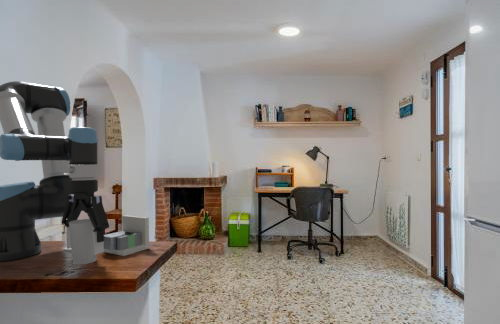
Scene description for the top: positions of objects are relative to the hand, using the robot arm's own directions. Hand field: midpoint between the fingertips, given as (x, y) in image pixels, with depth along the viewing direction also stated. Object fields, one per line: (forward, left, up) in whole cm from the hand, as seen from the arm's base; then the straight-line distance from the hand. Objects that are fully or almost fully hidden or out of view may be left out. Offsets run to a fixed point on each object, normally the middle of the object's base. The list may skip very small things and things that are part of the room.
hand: (84, 250), depth 92 cm
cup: (0, 0, -3) cm, 3 cm away
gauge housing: (0, +14, -3) cm, 14 cm away
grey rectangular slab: (+1, +11, -1) cm, 11 cm away
